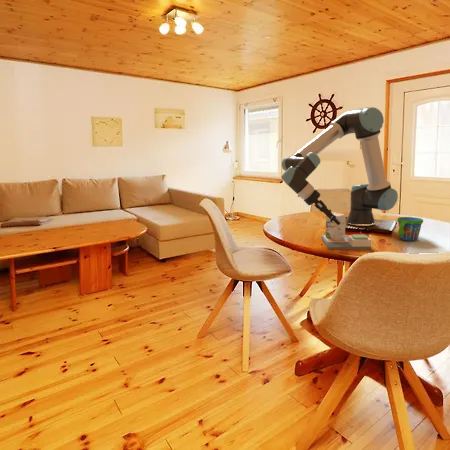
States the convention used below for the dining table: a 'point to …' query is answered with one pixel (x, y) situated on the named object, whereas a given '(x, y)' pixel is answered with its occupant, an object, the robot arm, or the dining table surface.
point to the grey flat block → (347, 243)
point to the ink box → (335, 227)
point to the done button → (359, 237)
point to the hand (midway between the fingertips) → (341, 225)
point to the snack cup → (409, 228)
